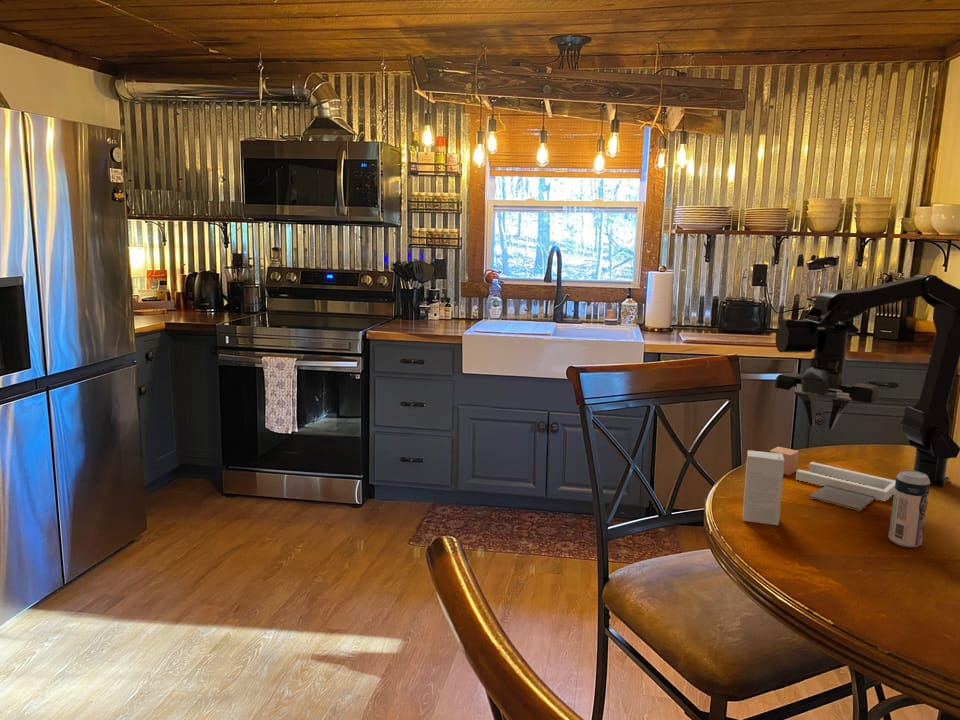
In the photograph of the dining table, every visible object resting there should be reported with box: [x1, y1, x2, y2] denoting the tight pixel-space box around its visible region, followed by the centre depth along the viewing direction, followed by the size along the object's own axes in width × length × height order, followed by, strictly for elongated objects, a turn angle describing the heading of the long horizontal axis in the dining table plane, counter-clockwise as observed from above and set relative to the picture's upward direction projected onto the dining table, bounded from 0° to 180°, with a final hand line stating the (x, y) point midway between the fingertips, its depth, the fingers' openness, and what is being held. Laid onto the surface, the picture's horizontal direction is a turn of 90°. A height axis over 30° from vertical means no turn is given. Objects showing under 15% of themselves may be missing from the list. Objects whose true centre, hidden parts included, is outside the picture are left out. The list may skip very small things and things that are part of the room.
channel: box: [795, 461, 896, 502], centre depth 145 cm, size 9×17×2 cm, turn 46°
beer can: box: [887, 469, 931, 549], centre depth 117 cm, size 5×5×12 cm
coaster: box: [809, 485, 875, 510], centre depth 138 cm, size 9×9×1 cm
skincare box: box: [742, 449, 785, 526], centre depth 126 cm, size 6×4×12 cm
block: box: [769, 446, 800, 476], centre depth 154 cm, size 4×4×4 cm
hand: (821, 427), depth 148 cm, fingers open, 3 cm apart
